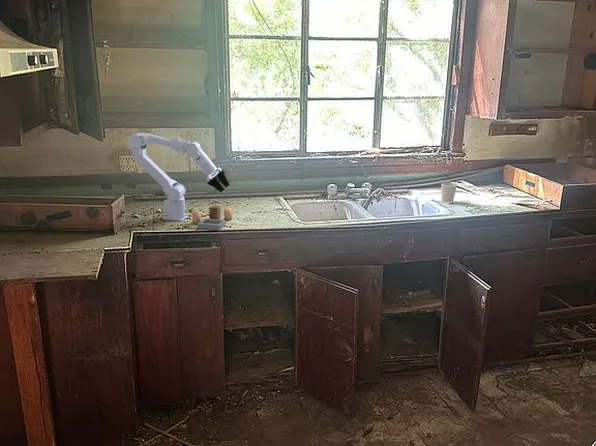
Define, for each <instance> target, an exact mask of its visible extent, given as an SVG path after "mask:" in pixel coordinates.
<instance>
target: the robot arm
mask: <svg viewBox="0 0 596 446" xmlns="http://www.w3.org/2000/svg"><path fill="white" fill-rule="evenodd" d="M151 144H153V145H158V146H163V147H168V148H169V150H171V151H174V152H177V153H181V154H186V155H187V156H188V157H191V158H192V159H193V161H194V162H195V163H196V164H197V165H198V166H197V167H199V168H200V169H201V171H202V172H203V173H204V174H205V175H206V177H205V179H206V181H207V183H206V184H207V185H209V186H211V187H213V188H214V189H215V190H217V191H218V192H219V193H222V192H224V191H225V188H228V187H229V186H230V184H231V183H229V180H228V178H227V175H226V172H225V169H221V168H220V167H216V165H215V163H214V162H213V161H212V160H211V159H210V158H209V157H208V156H207V154H206V152H204V151H203V149H202V147H201V145H200V143H199V142H198V141H196V140H193V141H191V140H189V139H187V140H185V139H181V138H180V137H179V136H177V137H172V138H171V139H169V138H166V137H163V136H160V135H156V134H152V133H150V132H149V133H148V132H141V131H140V132H137V133H135V134H132V135H130V136H129V137H128V140H127V148H128V149H129V151H130V153H131V155H132V159H133V160H134V161H135V162H136V163H137V165H139V166H141V168H142V169H143V170H144V171H145V172H146V173H147V174H148V175H150V177H152V178H153V180H155V181H156V182H157V183H158V184H159V185H160V186H161V187H162V191H163V192H164V193H165V194H166V197H167V198H166V199H165V200H164V201H163V205H162V209H163V211H162V212H163V218H162V219H163V220H166V221H177V222H183V221H184V220H185V219H188V218H189V215H186V201H185V200H186V199H185V194H186V192H187V191H186V190H187V189H186V186H184V185H183V184H181V183H179V182H177V181H176V180H175V179H172V178H171V177H170V176H168V174H167V173H166V172H165V171H164V170H162V169H161V168H160V166H158V164H156V162H154V161H153V160H152V159H151V158H150V157H149V156H148V155H147V146H148V145H151ZM224 187H225V188H224Z"/></svg>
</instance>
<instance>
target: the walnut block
mask: <svg viewBox="0 0 596 446" xmlns="http://www.w3.org/2000/svg"><path fill="white" fill-rule="evenodd" d="M208 209H209V210H208V211H209V212H208V213H209V214H208V215H209V216H208V217H209V218H208V219H215V220H222V219H221V217H222V216H221V213H222V212H221V205H211V206H209V207H208Z"/></svg>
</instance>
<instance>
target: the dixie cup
mask: <svg viewBox="0 0 596 446" xmlns="http://www.w3.org/2000/svg"><path fill="white" fill-rule="evenodd" d="M440 185H441V186H440V187H441V189H440V190H441V202H442V201H443V202H453V203H454V199H455V195H456V190H457V187H458V184H457V183H453V182H442V183H441V184H440Z"/></svg>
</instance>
